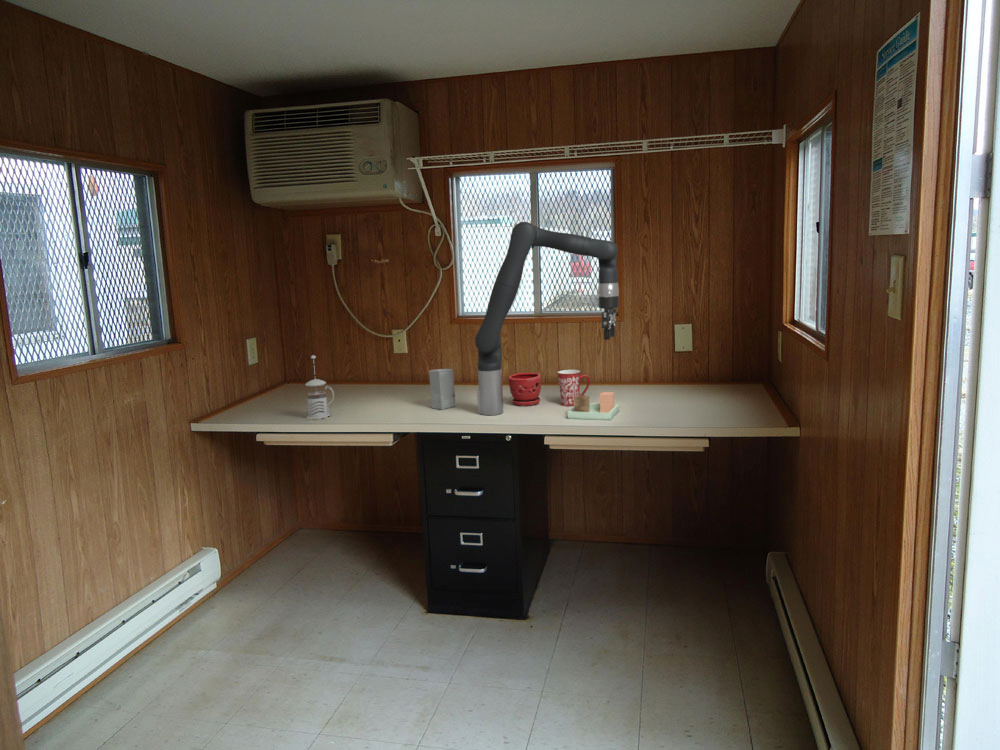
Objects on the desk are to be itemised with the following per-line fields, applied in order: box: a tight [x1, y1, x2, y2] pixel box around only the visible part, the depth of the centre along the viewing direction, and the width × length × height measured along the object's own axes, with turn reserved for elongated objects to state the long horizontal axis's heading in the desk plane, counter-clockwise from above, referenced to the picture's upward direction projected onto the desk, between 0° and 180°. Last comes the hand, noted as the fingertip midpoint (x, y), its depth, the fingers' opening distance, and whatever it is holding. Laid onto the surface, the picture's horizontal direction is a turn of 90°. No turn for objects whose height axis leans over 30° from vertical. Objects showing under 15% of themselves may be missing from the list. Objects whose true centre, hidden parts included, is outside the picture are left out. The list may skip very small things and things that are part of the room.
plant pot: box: [508, 372, 542, 407], centre depth 297 cm, size 13×13×12 cm
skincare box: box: [428, 368, 456, 410], centre depth 298 cm, size 8×7×16 cm
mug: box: [557, 369, 591, 407], centre depth 291 cm, size 13×9×14 cm
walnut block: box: [574, 394, 590, 412], centre depth 270 cm, size 4×4×7 cm
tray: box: [567, 402, 620, 421], centre depth 272 cm, size 16×16×3 cm
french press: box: [305, 354, 335, 418], centre depth 290 cm, size 10×12×25 cm
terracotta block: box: [599, 391, 616, 413], centre depth 273 cm, size 4×4×7 cm
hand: (609, 338), depth 275 cm, fingers open, 8 cm apart
